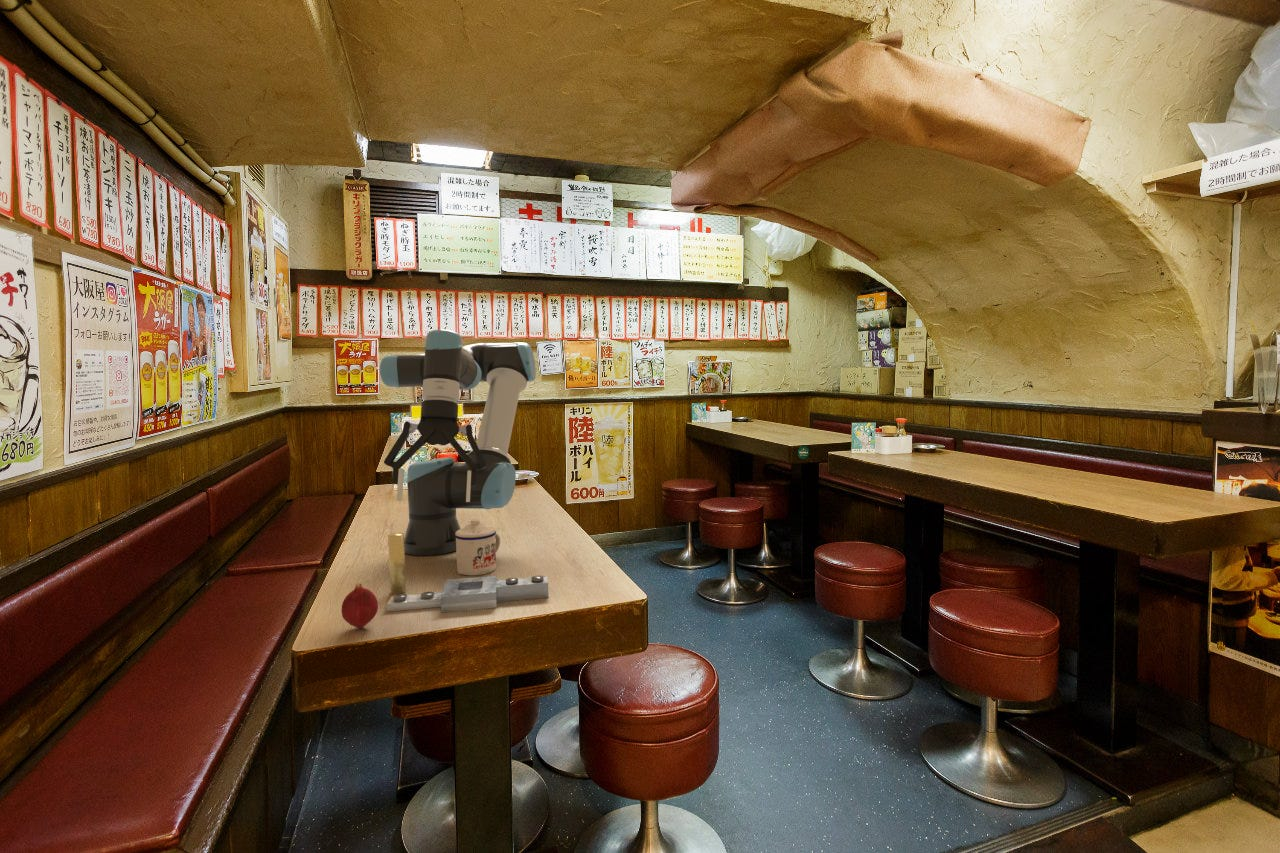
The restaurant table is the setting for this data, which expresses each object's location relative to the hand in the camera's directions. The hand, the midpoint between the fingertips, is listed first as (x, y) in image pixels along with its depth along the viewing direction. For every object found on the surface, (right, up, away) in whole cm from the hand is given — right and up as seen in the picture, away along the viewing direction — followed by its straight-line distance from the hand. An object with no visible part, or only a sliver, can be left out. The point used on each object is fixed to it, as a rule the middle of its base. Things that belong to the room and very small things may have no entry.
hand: (434, 501), depth 124 cm
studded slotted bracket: (+10, -19, -7) cm, 22 cm away
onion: (-6, -20, -20) cm, 29 cm away
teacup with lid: (+6, -17, +13) cm, 23 cm away
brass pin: (-7, -18, -2) cm, 20 cm away
